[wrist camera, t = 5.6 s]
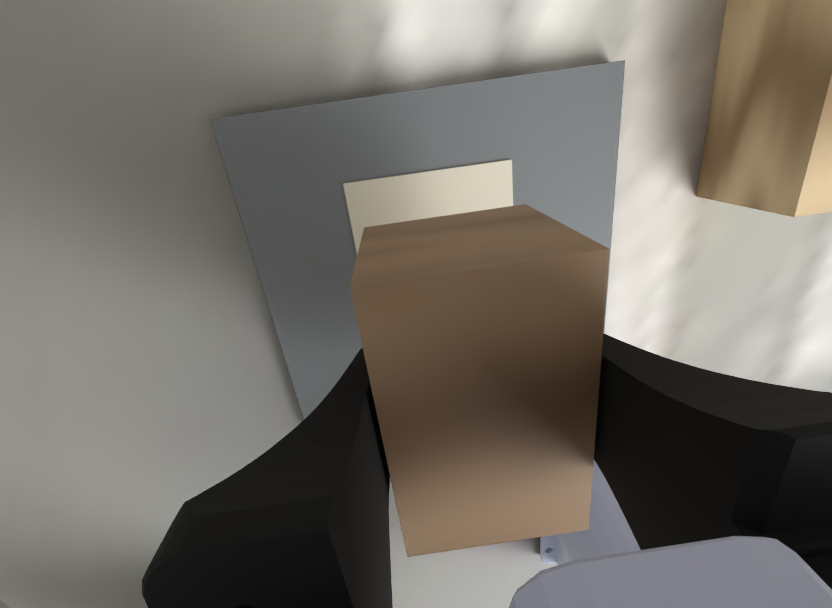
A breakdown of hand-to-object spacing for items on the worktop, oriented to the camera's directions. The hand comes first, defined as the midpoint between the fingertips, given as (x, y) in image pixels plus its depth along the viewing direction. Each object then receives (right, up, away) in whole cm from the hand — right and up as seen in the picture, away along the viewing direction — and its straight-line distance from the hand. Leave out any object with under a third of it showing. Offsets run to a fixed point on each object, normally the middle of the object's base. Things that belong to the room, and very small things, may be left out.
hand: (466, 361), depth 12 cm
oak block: (+14, +11, +5) cm, 18 cm away
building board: (0, +3, +7) cm, 8 cm away
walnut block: (0, +1, +2) cm, 2 cm away
